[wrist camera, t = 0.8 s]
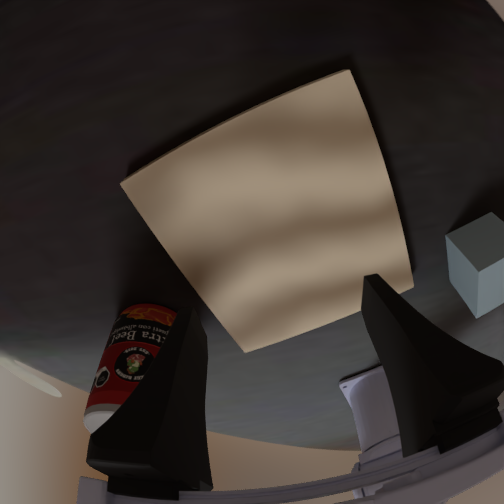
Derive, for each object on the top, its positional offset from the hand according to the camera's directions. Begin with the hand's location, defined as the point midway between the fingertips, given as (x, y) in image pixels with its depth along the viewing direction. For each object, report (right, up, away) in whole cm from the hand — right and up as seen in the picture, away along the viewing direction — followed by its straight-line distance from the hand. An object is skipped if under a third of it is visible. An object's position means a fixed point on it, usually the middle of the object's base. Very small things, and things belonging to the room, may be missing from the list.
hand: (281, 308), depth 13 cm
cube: (+19, +3, +11) cm, 22 cm away
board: (+1, +4, +10) cm, 10 cm away
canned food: (-10, -5, +15) cm, 19 cm away
